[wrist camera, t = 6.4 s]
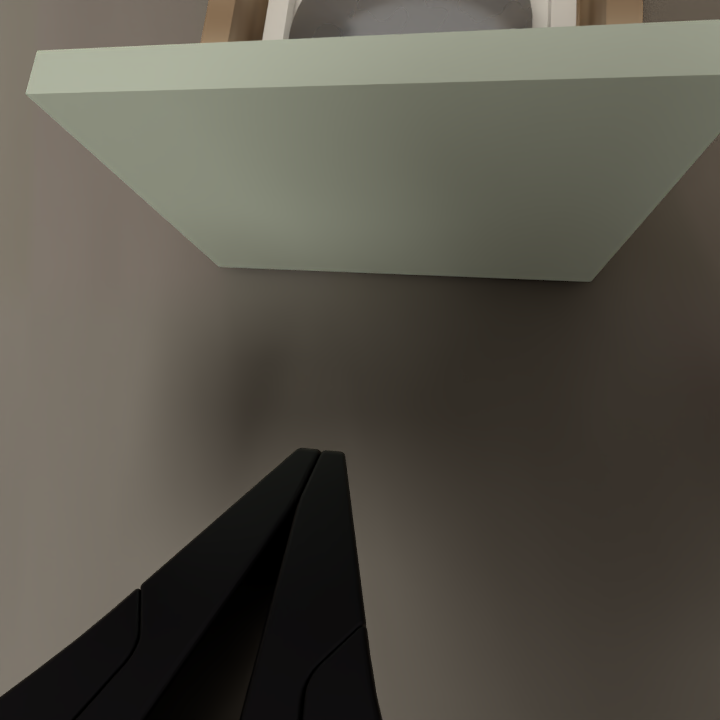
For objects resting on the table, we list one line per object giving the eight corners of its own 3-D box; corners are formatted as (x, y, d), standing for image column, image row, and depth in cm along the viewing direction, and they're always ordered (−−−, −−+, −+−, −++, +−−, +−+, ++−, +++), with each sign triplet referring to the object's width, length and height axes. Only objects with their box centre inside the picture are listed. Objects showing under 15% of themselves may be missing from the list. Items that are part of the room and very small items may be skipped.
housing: (604, 250, 16) (644, 200, 13) (215, 239, 18) (170, 194, 15) (606, -74, 19) (640, -181, 16) (264, -47, 21) (235, -135, 18)
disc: (385, 212, 16) (380, 185, 15) (260, 67, 18) (244, 31, 17) (574, 70, 16) (588, 28, 15) (427, -58, 18) (427, -106, 17)
